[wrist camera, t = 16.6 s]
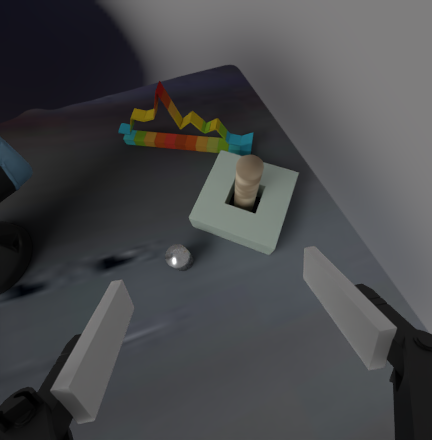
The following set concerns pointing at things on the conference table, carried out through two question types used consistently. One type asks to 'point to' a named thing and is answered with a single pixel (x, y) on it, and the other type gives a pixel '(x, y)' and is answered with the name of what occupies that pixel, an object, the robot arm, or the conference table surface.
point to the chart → (184, 142)
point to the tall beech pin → (247, 181)
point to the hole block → (238, 218)
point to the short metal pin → (179, 257)
